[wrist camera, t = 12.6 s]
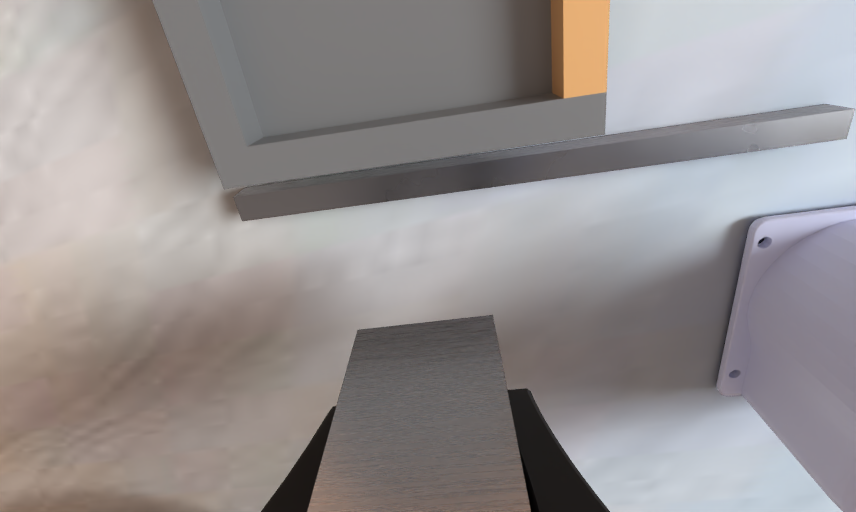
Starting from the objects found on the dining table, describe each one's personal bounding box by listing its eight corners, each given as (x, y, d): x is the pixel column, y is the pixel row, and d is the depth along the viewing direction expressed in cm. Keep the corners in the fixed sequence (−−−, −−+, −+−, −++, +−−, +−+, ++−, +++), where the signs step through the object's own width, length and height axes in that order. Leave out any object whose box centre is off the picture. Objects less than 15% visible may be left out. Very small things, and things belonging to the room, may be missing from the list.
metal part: (502, 414, 14) (541, 643, 9) (384, 424, 14) (351, 652, 9) (492, 314, 12) (534, 526, 7) (357, 329, 13) (298, 542, 7)
